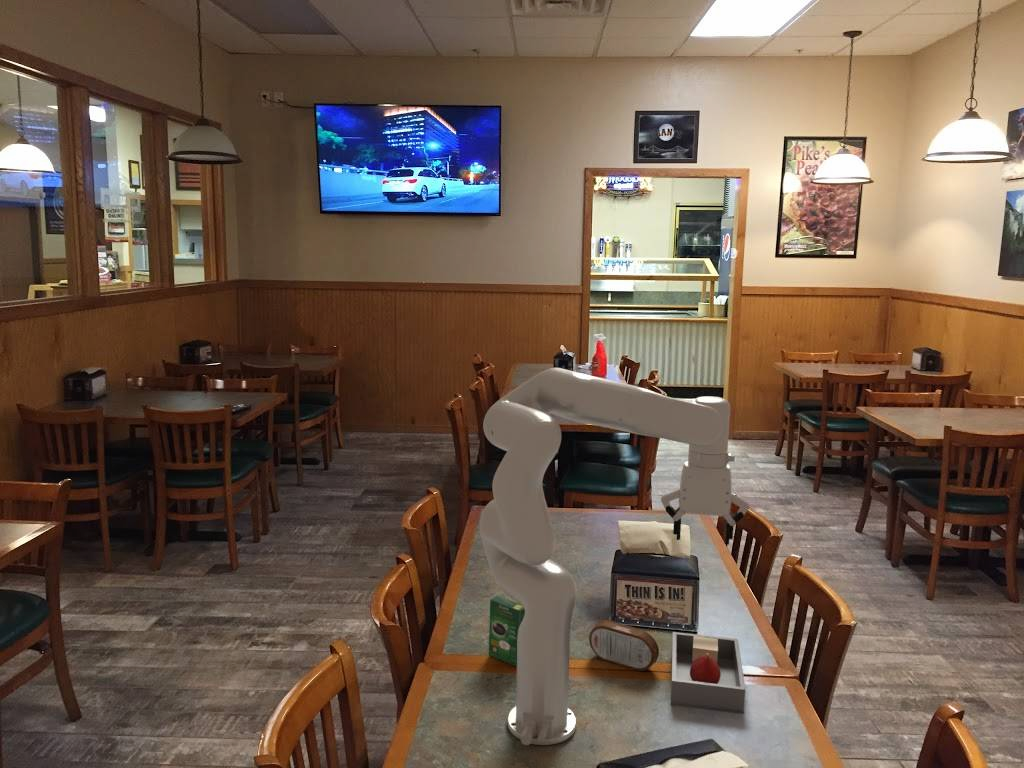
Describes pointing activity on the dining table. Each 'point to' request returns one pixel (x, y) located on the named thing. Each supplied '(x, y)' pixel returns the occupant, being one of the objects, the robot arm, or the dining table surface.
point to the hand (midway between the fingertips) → (702, 539)
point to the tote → (702, 694)
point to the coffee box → (504, 629)
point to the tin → (623, 645)
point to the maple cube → (705, 648)
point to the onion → (705, 670)
